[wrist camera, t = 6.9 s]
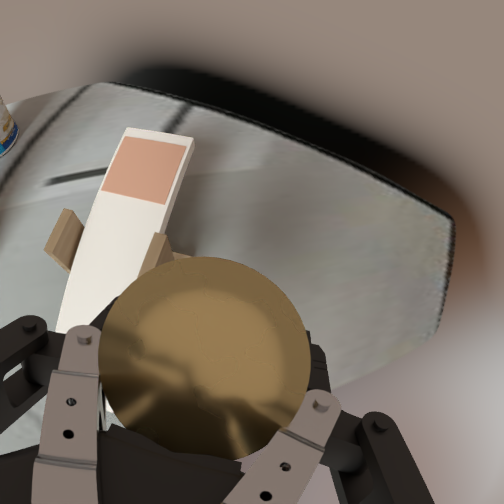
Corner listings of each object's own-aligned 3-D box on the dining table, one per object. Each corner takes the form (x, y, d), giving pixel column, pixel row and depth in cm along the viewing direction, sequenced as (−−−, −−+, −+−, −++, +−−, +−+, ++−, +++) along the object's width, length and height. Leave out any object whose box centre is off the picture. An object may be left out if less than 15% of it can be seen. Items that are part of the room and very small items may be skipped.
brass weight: (146, 408, 15) (75, 420, 6) (174, 311, 17) (138, 235, 9) (249, 436, 15) (284, 482, 6) (273, 338, 17) (326, 284, 9)
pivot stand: (74, 303, 29) (28, 270, 21) (101, 236, 33) (69, 187, 24) (168, 336, 29) (147, 313, 21) (192, 262, 33) (183, 214, 24)
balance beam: (54, 379, 23) (45, 382, 22) (131, 135, 29) (126, 126, 27) (119, 408, 23) (112, 413, 22) (195, 146, 29) (193, 137, 27)
